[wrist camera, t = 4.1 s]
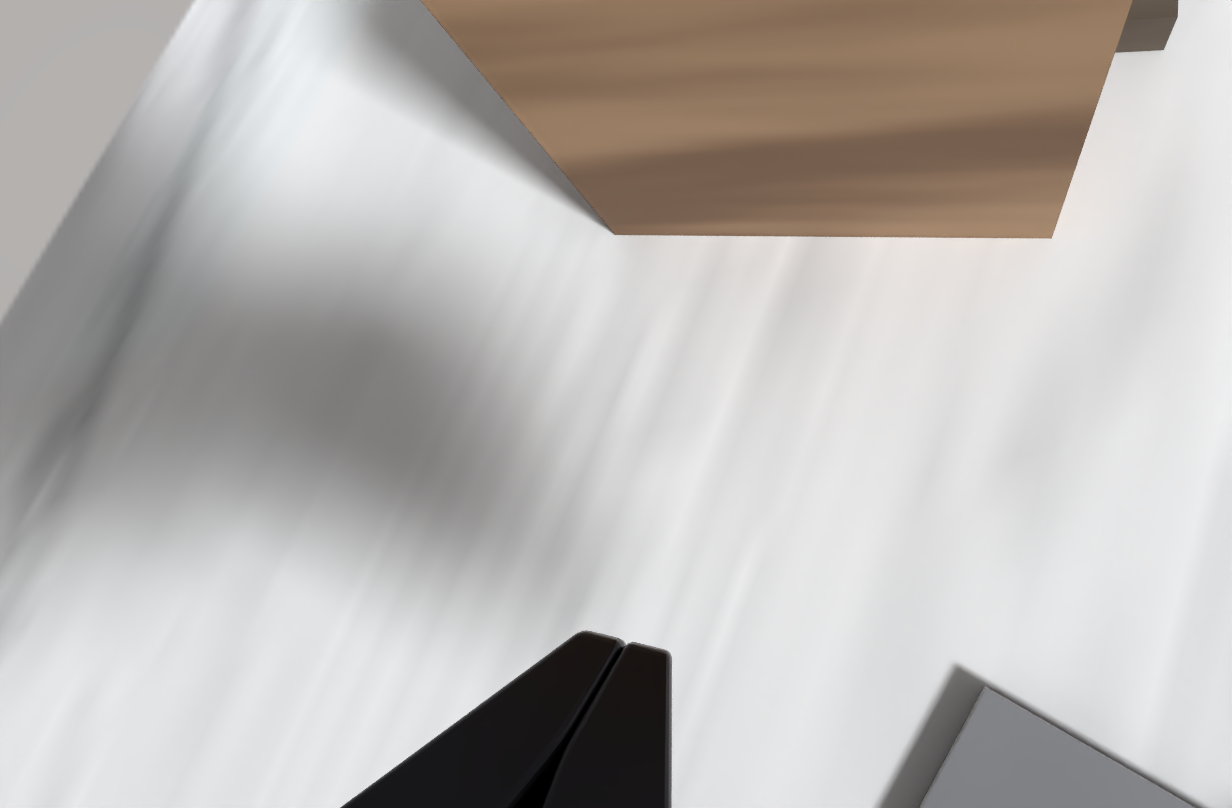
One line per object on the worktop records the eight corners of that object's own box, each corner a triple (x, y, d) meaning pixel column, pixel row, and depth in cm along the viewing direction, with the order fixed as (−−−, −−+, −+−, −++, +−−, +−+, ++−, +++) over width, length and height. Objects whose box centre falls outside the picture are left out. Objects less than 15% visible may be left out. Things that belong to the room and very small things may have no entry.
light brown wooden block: (1051, 238, 20) (1161, -85, 11) (615, 234, 23) (408, -14, 14) (1060, 69, 21) (1170, -371, 11) (635, 89, 24) (452, -241, 15)
